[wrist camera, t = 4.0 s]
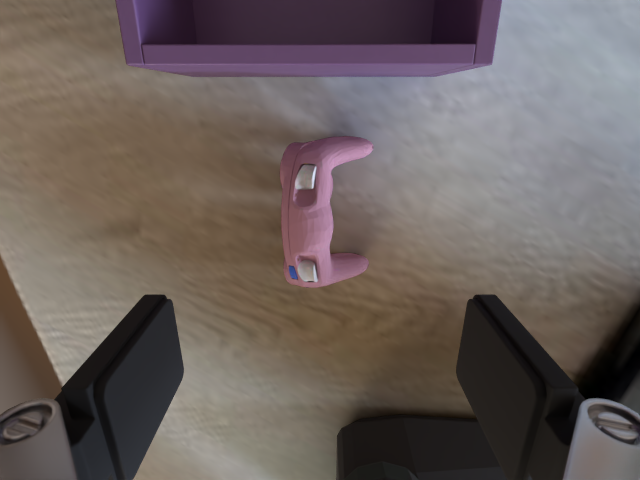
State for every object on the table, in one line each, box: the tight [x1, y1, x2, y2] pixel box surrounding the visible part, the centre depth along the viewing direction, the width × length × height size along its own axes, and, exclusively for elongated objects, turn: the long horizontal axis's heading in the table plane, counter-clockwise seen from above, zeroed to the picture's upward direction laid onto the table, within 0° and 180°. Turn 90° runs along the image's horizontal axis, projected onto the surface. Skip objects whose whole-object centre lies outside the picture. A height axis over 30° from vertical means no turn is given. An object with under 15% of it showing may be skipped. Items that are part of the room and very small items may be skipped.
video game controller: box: [280, 136, 373, 288], centre depth 24 cm, size 10×5×7 cm, turn 1°
